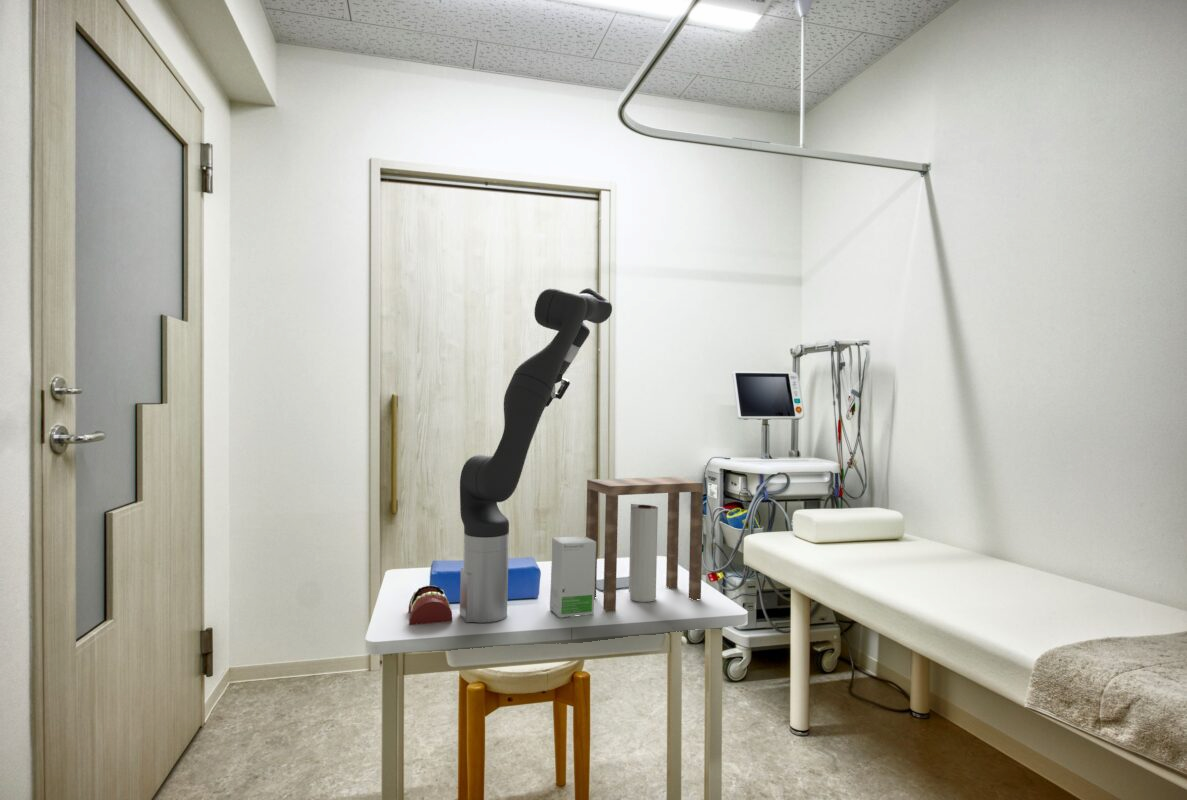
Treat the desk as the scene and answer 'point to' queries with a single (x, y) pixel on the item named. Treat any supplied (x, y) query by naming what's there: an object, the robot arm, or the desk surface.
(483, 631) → the desk surface
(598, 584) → the slate mat
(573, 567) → the skincare box
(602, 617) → the desk surface
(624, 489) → the walnut shelf
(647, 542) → the paper towel roll
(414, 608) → the teeth
